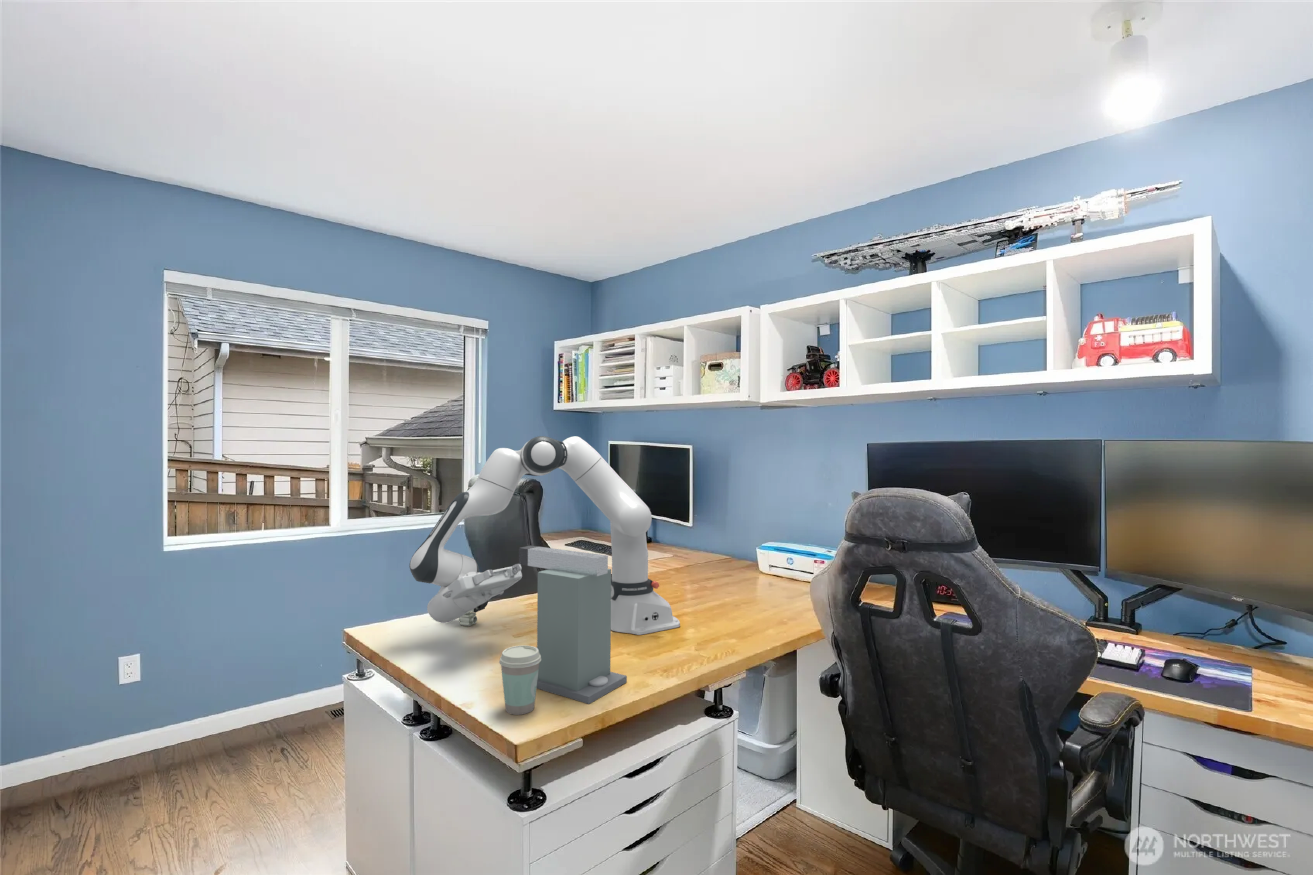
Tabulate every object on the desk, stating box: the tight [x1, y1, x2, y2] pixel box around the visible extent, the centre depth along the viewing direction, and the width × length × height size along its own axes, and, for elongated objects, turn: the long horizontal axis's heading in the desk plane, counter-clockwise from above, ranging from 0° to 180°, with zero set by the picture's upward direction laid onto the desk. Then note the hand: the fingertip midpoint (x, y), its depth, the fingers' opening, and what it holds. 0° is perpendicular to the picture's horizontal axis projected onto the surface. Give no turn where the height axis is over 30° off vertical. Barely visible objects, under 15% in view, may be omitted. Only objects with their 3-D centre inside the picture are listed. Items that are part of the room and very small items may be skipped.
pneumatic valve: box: [458, 600, 489, 627], centre depth 184 cm, size 6×12×12 cm, turn 70°
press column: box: [536, 568, 628, 705], centre depth 139 cm, size 16×14×26 cm
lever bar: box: [518, 545, 609, 576], centre depth 142 cm, size 24×4×4 cm, turn 58°
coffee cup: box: [498, 644, 541, 716], centre depth 126 cm, size 8×8×12 cm
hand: (505, 569), depth 152 cm, fingers open, 8 cm apart
